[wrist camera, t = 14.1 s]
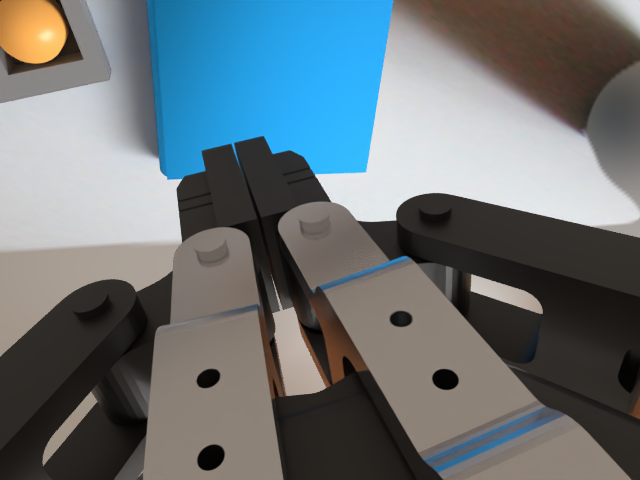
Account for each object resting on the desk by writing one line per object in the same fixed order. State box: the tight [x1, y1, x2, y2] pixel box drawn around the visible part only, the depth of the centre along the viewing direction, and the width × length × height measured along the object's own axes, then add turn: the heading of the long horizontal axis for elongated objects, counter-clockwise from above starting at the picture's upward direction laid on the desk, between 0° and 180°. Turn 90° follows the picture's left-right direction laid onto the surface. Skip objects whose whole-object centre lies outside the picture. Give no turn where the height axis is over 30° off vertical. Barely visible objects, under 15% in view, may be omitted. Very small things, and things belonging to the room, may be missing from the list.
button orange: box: [0, 0, 69, 63], centre depth 33 cm, size 4×4×2 cm
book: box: [147, 0, 393, 179], centre depth 36 cm, size 17×4×25 cm
